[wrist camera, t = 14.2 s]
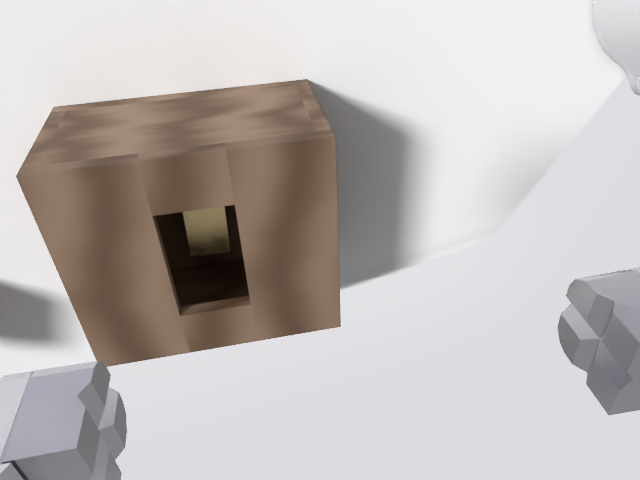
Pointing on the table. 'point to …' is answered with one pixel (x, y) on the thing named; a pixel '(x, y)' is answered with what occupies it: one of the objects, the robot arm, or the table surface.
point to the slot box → (168, 222)
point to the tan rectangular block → (207, 231)
